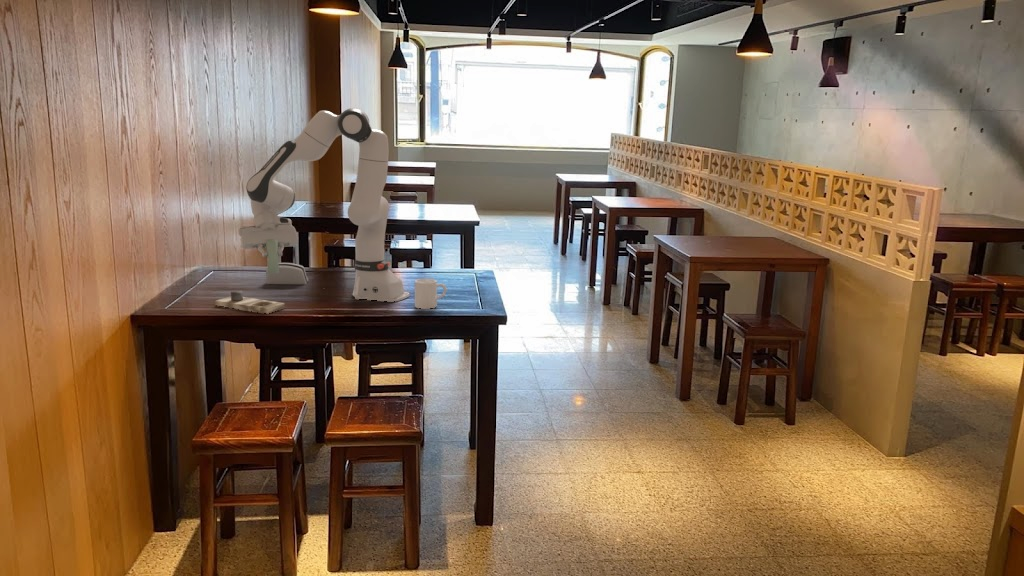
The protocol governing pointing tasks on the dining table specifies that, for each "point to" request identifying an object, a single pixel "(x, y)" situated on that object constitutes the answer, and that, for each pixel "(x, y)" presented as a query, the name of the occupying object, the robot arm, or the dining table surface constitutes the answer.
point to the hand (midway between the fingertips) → (272, 255)
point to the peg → (272, 256)
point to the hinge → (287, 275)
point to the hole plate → (249, 303)
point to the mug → (427, 293)
